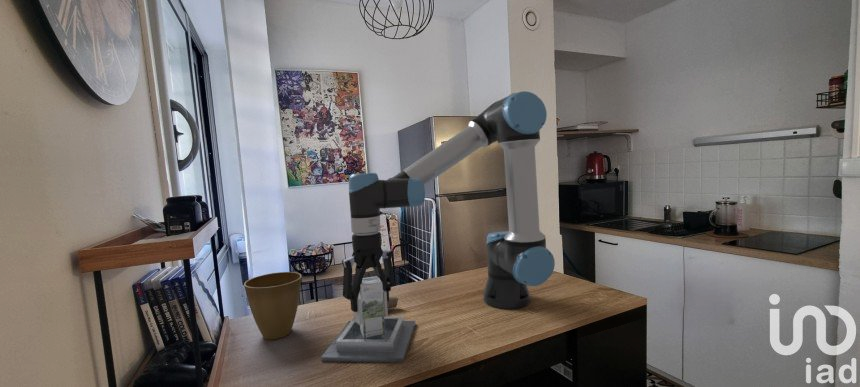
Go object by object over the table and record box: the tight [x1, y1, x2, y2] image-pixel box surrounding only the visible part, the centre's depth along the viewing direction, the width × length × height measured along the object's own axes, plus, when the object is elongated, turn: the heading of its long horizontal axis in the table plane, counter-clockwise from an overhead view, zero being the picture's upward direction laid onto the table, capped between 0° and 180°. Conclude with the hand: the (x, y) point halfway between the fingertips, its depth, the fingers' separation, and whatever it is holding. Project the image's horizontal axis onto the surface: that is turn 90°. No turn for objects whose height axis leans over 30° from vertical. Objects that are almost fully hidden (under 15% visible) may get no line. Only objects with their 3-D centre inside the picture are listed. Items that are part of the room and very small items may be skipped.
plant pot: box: [243, 271, 302, 340], centre depth 100 cm, size 15×15×16 cm
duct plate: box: [320, 316, 416, 363], centre depth 93 cm, size 20×20×4 cm
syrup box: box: [358, 275, 385, 339], centre depth 92 cm, size 6×6×14 cm
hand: (371, 318), depth 93 cm, fingers closed on syrup box, 7 cm apart
